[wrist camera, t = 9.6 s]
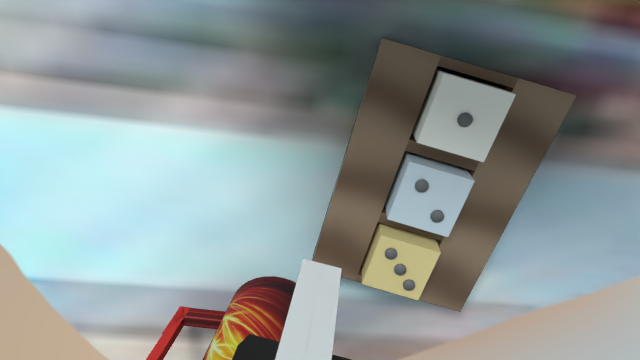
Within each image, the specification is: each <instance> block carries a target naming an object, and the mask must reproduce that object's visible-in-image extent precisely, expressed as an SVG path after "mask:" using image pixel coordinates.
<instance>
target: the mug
mask: <svg viewBox="0 0 640 360" xmlns="http://www.w3.org/2000/svg"><path fill="white" fill-rule="evenodd" d="M295 286H296V283H295V282H293V281H291V280H288V279H285V278H280V277H260V278H255V279H253V280H251V281H248V282H247V283H245V284H244V285H242V286H241V287H240V288H239V289H238V290H237V291H236V293H235V295H234V297H233V299H232V301H231V303H230V305H229V307H228V309H227V311H226V312H222V311H213V310H203V309H194V308H188V307H180V308H179V309H178V311H177V312H176V314H175V315H174V317H173V318H172V320H171V321H170V323H169V324H168V325H167V327H166V328H165V330H164V331H163V333H162V334H163V335H162V336H161V338H160V339H159V341H158V342H157V344H156V345H155V347H154V348H153V350H152V351H151V353H150V354H149V356H148V357H147V359H146V360H163V359H164V357H165V355H166V354H167V352H168V351H169V349H170V347H171V346H172V344H173V342H174V341H175V339H176V337H177V336H178V334H179V333H180V331H181V329H182V328H183V326H193V327H202V328H211V329H217V331H216V333H215V335H214V337H213V339H212V341H211V344H210V346H209V348H208V350H207V352H206V354H205V356H204V358H203V360H232V358H233V356H234V353H235V351H236V349H237V346H238V345H239V344H240V343H241V342H242V341H243V340H244V339H245V338H246V337H247V336H248V335H249V334H253V335H256V336H260V337H264V338H268V339H271V340H275V341H279V342H280V340H281V337H282V333H283V329H284V326H285V322H286V319H287V315H288V311H289V308H290V304H291V301H292V297H293V293H294V290H295Z"/></svg>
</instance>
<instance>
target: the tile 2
mask: <svg viewBox="0 0 640 360" xmlns="http://www.w3.org/2000/svg"><path fill="white" fill-rule="evenodd" d="M515 96H516V94H513V93H511V92H509V91H506V90H504V89H502V88H499V87H496V86H493V85H489V84H486V83H482V82H479V81H476V80H472V79H469V78H466V77H462V76H459V75H455V74H452V73H449V72H445V71H442V70H438V69H436V70H435V73H434V76H433V78H432V81H431V83H430V86H429V89H428V91H427V94H426V97H425V99H424V102H423V104H422V107H421V110H420V112H419V115H418V118H417V120H416V123H415V125H414V128H413V131H412V133H413V135H414V138H415V140H416V142H417V143H420V144H423V145H426V146H430V147H433V148H437V149H440V150H443V151H447V152H450V153H454V154H457V155H460V156H464V157H467V158H470V159H474V160H477V161H481V162H484V161H485V159H486V157H487V155H488V152H489V150H490V148H491V146H492V144H493V142H494V140H495V138H496V136H497V134H498V131H499V129H500V127H501V125H502V123H503V121H504V119H505V117H506V115H507V113H508V110H509V108H510V106H511V104H512V102H513V100H514V98H515Z"/></svg>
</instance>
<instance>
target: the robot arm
mask: <svg viewBox="0 0 640 360" xmlns="http://www.w3.org/2000/svg"><path fill="white" fill-rule="evenodd" d="M341 270H342V269H341V268H338V267H334V266H330V265H326V264H322V263H318V262H315V261H311V260H307V259H303V261H302V265H301V268H300V272H299V275H298V279H297V283H296V286H295V290H294V293H293V297H292V301H291V304H290V308H289V311H288V315H287V319H286V322H285V326H284V329H283V333H282V337H281V340H280V342H279V341H275V340H271V339H268V338H264V337H260V336H256V335H253V334H249V335H248V336H247V337H246V338H245V339H244V340H243V341H242V342H241V343H240V344H239V345H238V346H237V349H236V351H235V353H234V356H233V358H232V360H350V359H347V358H343V357H339V356H335V355H332V351H333V342H334V333H335V324H336V315H337V306H338V297H339V288H340V279H341Z"/></svg>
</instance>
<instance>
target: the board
mask: <svg viewBox="0 0 640 360" xmlns="http://www.w3.org/2000/svg"><path fill="white" fill-rule="evenodd" d="M437 66H440V67H444V68H447V69H451V70H454V71H457V72H461V73H464V74H468V75H471V76H474V77H478V78H481V79H484V80H488V81H491V82H495V83H498V84H501V87H500V88H502V89H504V90H506V91H509V92H511V93H513V94H516V96H515V98H514V100H513V102H512V104H511V106H510V108H509V110H508V113H507V115H506V117H505V119H504V121H503V123H502V125H501V127H500V129H499V131H498V134H497V136H496V138H495V140H494V142H493V144H492V146H491V148H490V150H489V152H488V155H487V157H486V159H485V161H484V162H481V161H477V160H474V159H470V158H467V157H464V156H460V155H457V154H454V153H450V152H447V151H443V150H440V149H437V148H433V147H430V146H426V145H423V144H420V143H417V142H416V140H415V138H414V135H413V133H412V131H413V128H414V125H415V123H416V120H417V118H418V115H419V112H420V110H421V107H422V104H423V102H424V99H425V97H426V94H427V91H428V89H429V86H430V83H431V81H432V78H433V76H434V73H435V70H436V68H437ZM576 96H577V95H573V94H570V93H567V92H564V91H560V90H557V89H554V88H550V87H547V86H544V85H540V84H537V83H533V82H530V81H527V80H523V79H520V78H516V77H513V76H510V75H506V74H503V73H499V72H496V71H493V70H489V69H486V68H483V67H479V66H476V65H472V64H469V63H466V62H462V61H459V60H455V59H452V58H449V57H445V56H442V55H439V54H435V53H432V52H428V51H425V50H422V49H418V48H415V47H411V46H408V45H405V44H401V43H398V42H395V41H391V40H388V39H384V38H381V41H380V44H379V47H378V50H377V54H376V57H375V60H374V63H373V66H372V70H371V73H370V76H369V79H368V82H367V85H366V89H365V92H364V95H363V98H362V101H361V105H360V108H359V111H358V114H357V117H356V120H355V124H354V127H353V130H352V133H351V136H350V139H349V143H348V146H347V149H346V152H345V155H344V159H343V162H342V165H341V168H340V171H339V174H338V178H337V181H336V184H335V187H334V190H333V193H332V197H331V200H330V203H329V206H328V209H327V213H326V216H325V219H324V222H323V225H322V228H321V232H320V235H319V238H318V241H317V244H316V247H315V251H314V254H313V259H312V261H315V262H318V263H322V264H326V265H330V266H334V267H338V268H341V269H342V270H341V277H343V278H347V279H350V280H354V281H357V282H360V283H362V262H363V259H364V257H365V254H366V252H367V249H368V246H369V244H370V241H371V238H372V236H373V233H374V231H375V228H376V225H377V223H378V222H380V223H383V224H386V225H390V226H393V227H397V228H400V229H403V230H407V231H410V232H413V233H417V234H420V235H424V236H427V237H430V238H434V239H436V240H437V243H438V246H439V249H440V252H441V254H440V256H439V258H438V260H437V262H436V264H435V266H434V268H433V270H432V272H431V275H430V277H429V279H428V281H427V283H426V285H425V287H424V289H423V291H422V293H421V296H420V298H419V300H421V301H425V302H428V303H431V304H435V305H438V306H441V307H445V308H448V309H452V310H455V311H458V312H460V311H461V309H462V307H463V305H464V303H465V302H466V300H467V298H468V296H469V294H470V292H471V290H472V289H473V287H474V285H475V283H476V281H477V279H478V278H479V276H480V274H481V272H482V270H483V268H484V266H485V265H486V263H487V261H488V259H489V257H490V255H491V253H492V252H493V250H494V248H495V246H496V244H497V242H498V241H499V239H500V237H501V235H502V233H503V231H504V229H505V228H506V226H507V224H508V222H509V220H510V218H511V216H512V215H513V213H514V211H515V209H516V207H517V205H518V203H519V202H520V200H521V198H522V196H523V194H524V192H525V191H526V189H527V187H528V185H529V183H530V181H531V179H532V178H533V176H534V174H535V172H536V170H537V168H538V166H539V165H540V163H541V161H542V159H543V157H544V155H545V154H546V152H547V150H548V148H549V146H550V144H551V142H552V141H553V139H554V137H555V135H556V133H557V131H558V129H559V128H560V126H561V124H562V122H563V120H564V118H565V117H566V115H567V113H568V111H569V109H570V107H571V105H572V104H573V102H574V100H575V98H576ZM405 151H408V152H411V153H415V154H418V155H422V156H425V157H428V158H432V159H435V160H439V161H442V162H445V163H449V164H452V165H455V166H459V167H462V168H466V169H467V171H468V172H469V173H470V175H471V176H472V178H473V179H474V180H475V182H474V184H473V186H472V188H471V190H470V192H469V194H468V197H467V199H466V201H465V203H464V205H463V207H462V209H461V211H460V213H459V215H458V218H457V220H456V222H455V224H454V226H453V228H452V230H451V232H450V234H449V236H448V237H445V236H442V235H439V234H435V233H432V232H429V231H425V230H422V229H418V228H415V227H412V226H408V225H405V224H402V223H398V222H395V221H391V220H388V219H387V215H386V207H385V202H386V199H387V196H388V194H389V191H390V189H391V186H392V183H393V181H394V178H395V175H396V173H397V170H398V168H399V165H400V162H401V160H402V157H403V154H404V152H405Z"/></svg>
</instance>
